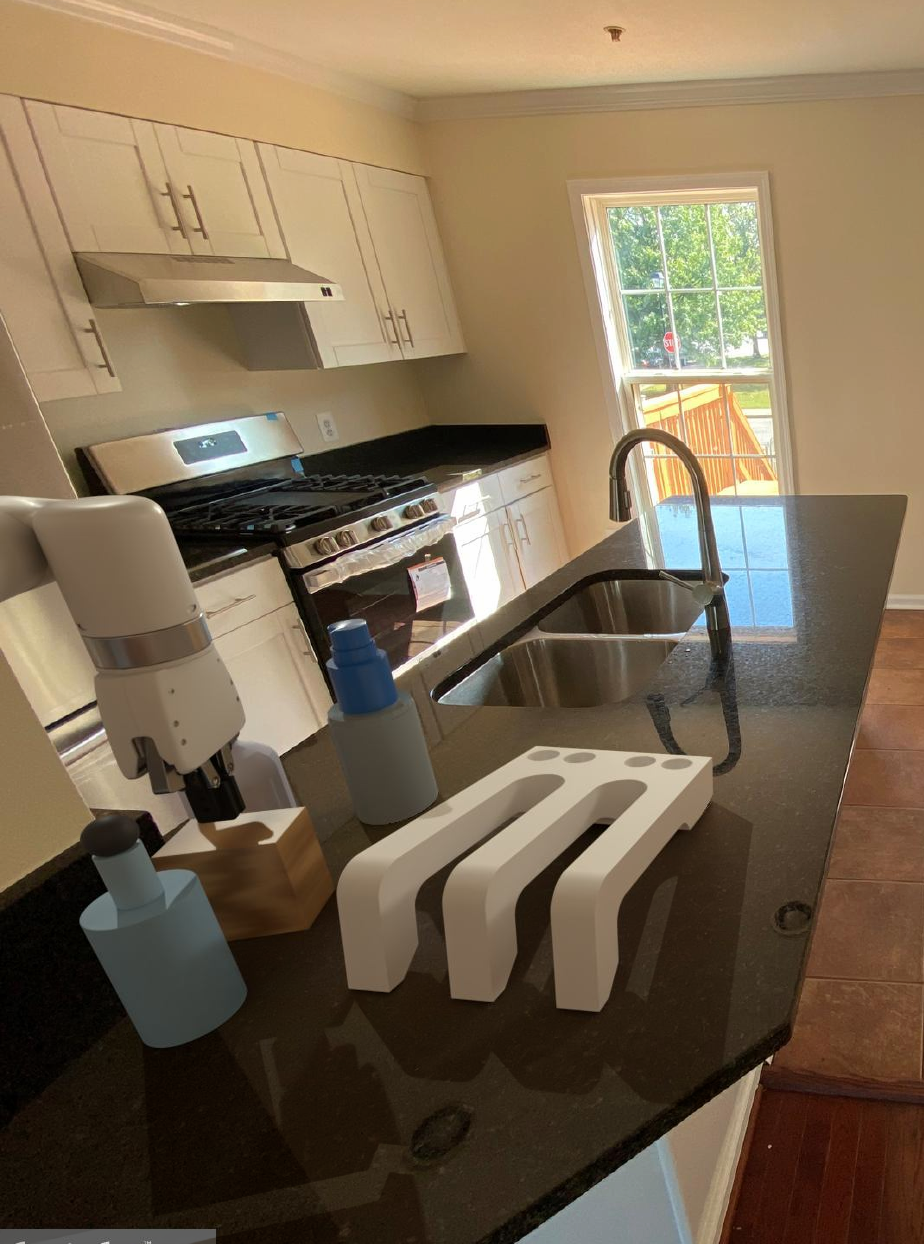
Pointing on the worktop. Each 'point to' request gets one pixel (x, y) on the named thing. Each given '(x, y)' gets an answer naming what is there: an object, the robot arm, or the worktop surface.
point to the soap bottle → (256, 779)
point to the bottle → (158, 940)
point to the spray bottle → (376, 730)
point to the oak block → (255, 870)
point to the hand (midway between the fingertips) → (222, 816)
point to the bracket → (521, 869)
